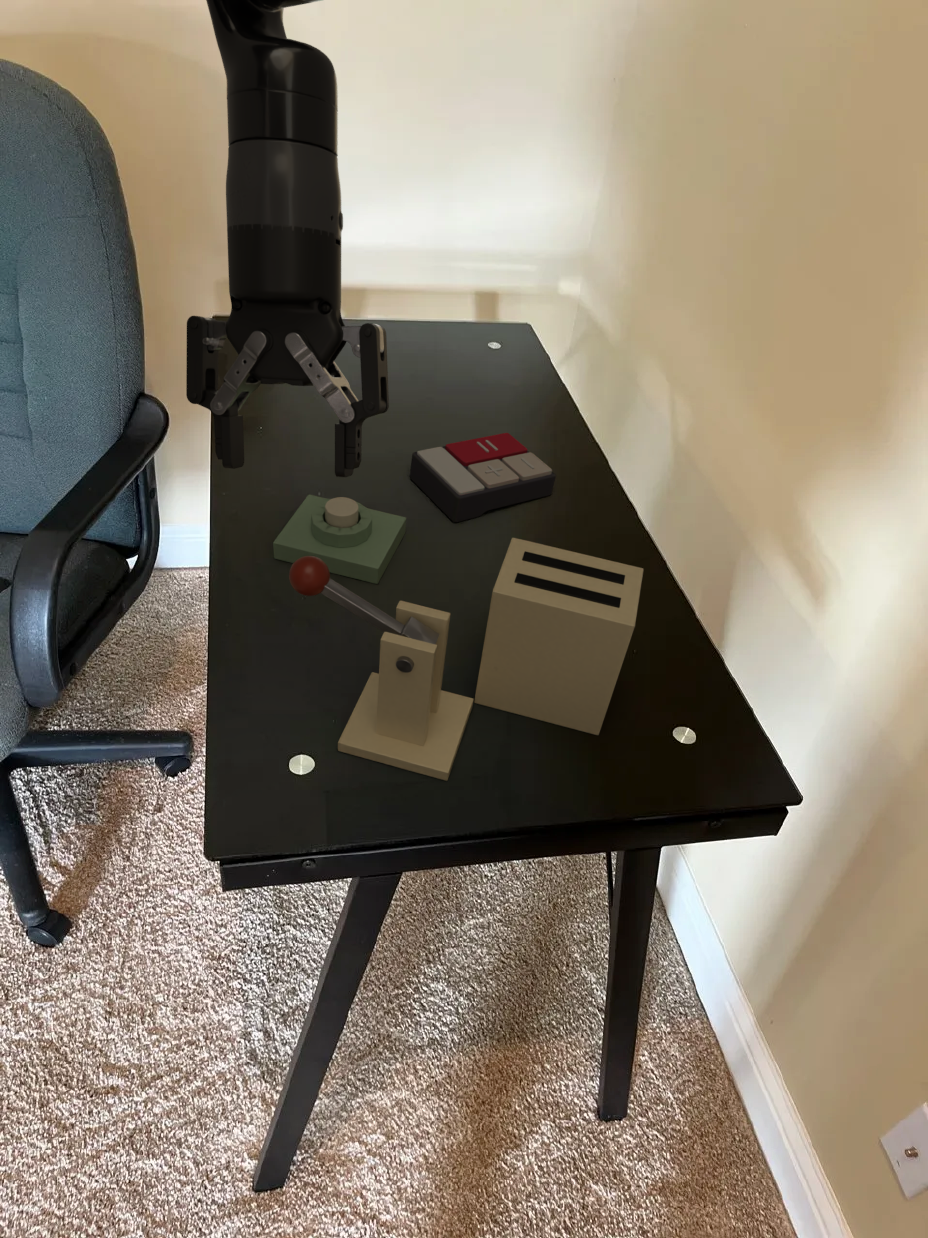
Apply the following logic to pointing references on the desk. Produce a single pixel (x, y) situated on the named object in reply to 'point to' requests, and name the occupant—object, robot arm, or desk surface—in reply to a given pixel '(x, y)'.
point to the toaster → (557, 635)
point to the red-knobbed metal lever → (352, 600)
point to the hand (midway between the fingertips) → (288, 471)
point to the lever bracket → (409, 703)
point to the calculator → (480, 475)
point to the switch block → (342, 540)
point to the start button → (341, 512)
